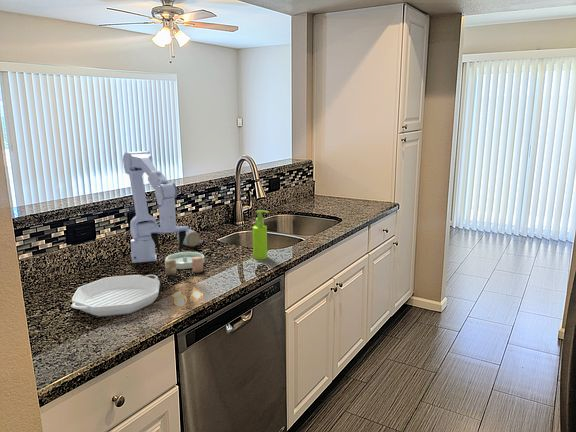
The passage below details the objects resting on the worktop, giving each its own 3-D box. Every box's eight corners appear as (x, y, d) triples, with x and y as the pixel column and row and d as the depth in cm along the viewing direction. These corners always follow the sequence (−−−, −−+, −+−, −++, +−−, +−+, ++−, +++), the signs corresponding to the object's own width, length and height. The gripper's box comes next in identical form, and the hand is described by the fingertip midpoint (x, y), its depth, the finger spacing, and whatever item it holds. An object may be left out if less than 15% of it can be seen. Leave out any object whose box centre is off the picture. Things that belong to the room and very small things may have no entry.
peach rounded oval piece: (193, 272, 169) (192, 260, 168) (192, 269, 173) (191, 257, 172) (203, 271, 170) (203, 259, 169) (202, 268, 174) (202, 256, 173)
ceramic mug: (187, 249, 199) (187, 232, 198) (177, 245, 205) (176, 229, 203) (207, 244, 207) (206, 228, 205) (196, 241, 212) (195, 225, 211)
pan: (131, 279, 163) (130, 268, 162) (183, 293, 150) (182, 281, 149) (49, 311, 137) (47, 297, 136) (102, 331, 124) (101, 316, 123)
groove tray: (166, 270, 172) (166, 265, 171) (165, 258, 186) (165, 253, 185) (206, 266, 176) (205, 261, 176) (202, 255, 190) (201, 250, 190)
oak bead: (165, 275, 167) (164, 262, 165) (165, 272, 170) (164, 259, 169) (176, 274, 168) (176, 261, 167) (176, 271, 171) (175, 258, 170)
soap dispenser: (267, 260, 184) (267, 212, 180) (251, 258, 186) (250, 211, 181) (271, 255, 190) (270, 209, 185) (255, 254, 191) (254, 208, 187)
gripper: (146, 219, 158) (149, 256, 161) (188, 217, 162) (190, 253, 165) (146, 215, 165) (149, 251, 168) (187, 213, 169) (188, 247, 172)
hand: (169, 251), depth 167 cm, fingers open, 7 cm apart
